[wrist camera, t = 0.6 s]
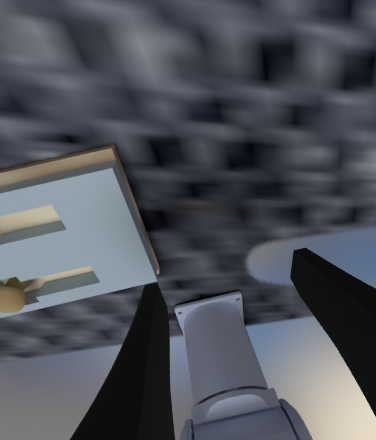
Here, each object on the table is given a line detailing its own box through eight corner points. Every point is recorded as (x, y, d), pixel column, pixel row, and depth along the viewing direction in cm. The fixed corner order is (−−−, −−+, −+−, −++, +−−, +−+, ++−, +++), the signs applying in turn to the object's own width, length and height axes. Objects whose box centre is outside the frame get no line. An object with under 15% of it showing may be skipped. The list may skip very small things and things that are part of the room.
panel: (157, 268, 20) (157, 281, 18) (9, 303, 20) (-1, 318, 18) (115, 160, 14) (112, 168, 13) (-94, 208, 14) (-119, 220, 13)
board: (159, 266, 21) (159, 294, 18) (-39, 312, 21) (-69, 348, 18) (114, 144, 14) (104, 159, 12) (-177, 210, 14) (-260, 241, 11)
